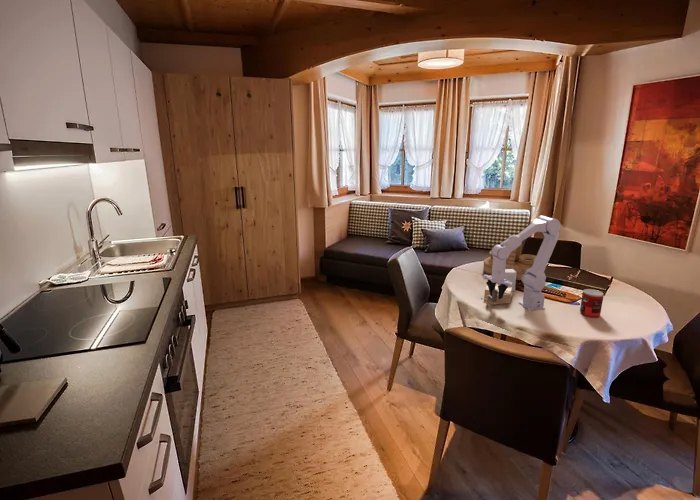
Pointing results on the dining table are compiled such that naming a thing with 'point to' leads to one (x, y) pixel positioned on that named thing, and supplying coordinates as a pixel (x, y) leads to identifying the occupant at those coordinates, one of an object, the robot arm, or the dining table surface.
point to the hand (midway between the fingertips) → (496, 296)
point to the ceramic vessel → (513, 262)
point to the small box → (510, 277)
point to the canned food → (591, 303)
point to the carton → (508, 291)
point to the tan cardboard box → (495, 299)
